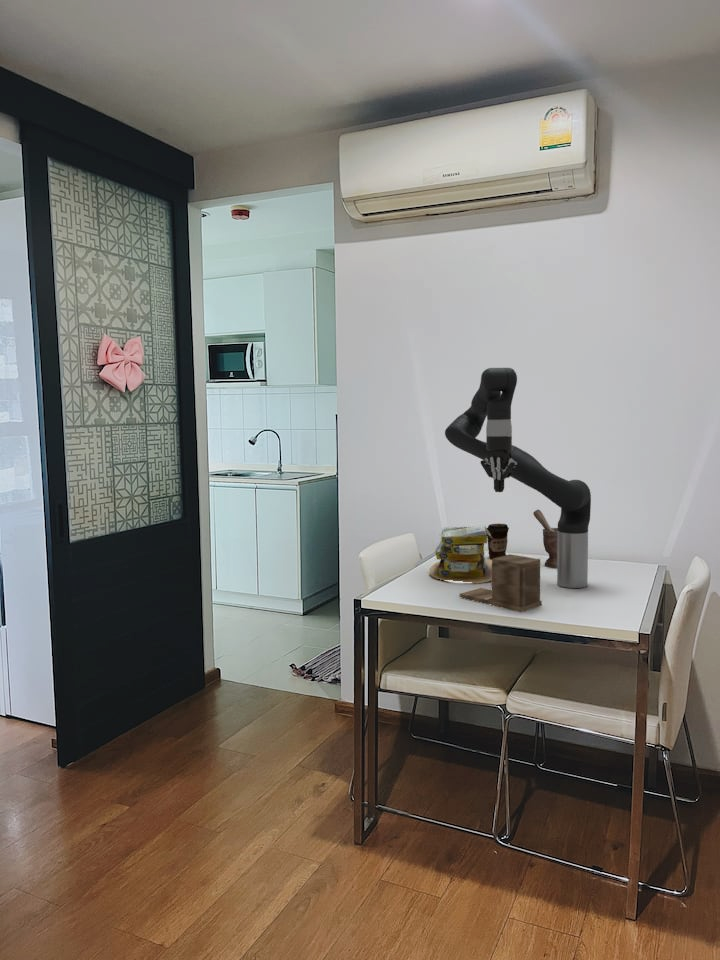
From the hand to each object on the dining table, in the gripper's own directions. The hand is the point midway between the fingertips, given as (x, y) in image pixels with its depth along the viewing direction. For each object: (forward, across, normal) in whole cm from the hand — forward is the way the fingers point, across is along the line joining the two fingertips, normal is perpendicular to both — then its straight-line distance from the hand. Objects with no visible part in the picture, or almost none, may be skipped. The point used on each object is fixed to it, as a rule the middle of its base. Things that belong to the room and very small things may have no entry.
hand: (499, 491), depth 220 cm
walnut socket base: (+31, +6, -8) cm, 33 cm away
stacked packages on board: (+31, -22, +11) cm, 40 cm away
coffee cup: (+31, -30, +38) cm, 58 cm away
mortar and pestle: (+31, -9, +42) cm, 53 cm away
